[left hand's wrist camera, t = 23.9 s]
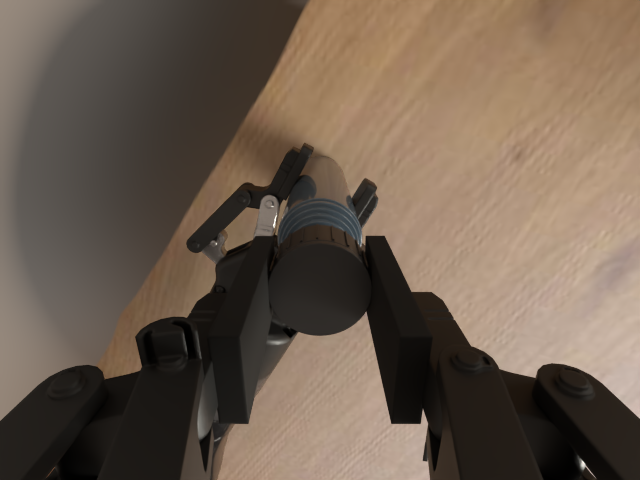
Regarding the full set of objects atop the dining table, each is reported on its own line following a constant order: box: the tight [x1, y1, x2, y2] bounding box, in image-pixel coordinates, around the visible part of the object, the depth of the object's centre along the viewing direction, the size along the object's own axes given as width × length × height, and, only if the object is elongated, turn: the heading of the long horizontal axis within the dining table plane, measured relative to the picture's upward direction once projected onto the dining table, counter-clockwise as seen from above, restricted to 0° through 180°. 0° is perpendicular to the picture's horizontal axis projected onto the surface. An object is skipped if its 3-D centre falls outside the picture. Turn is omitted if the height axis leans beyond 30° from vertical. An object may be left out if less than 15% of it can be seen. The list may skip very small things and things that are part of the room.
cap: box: [268, 224, 372, 336], centre depth 14 cm, size 4×4×2 cm
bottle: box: [277, 156, 362, 247], centre depth 22 cm, size 4×4×18 cm
